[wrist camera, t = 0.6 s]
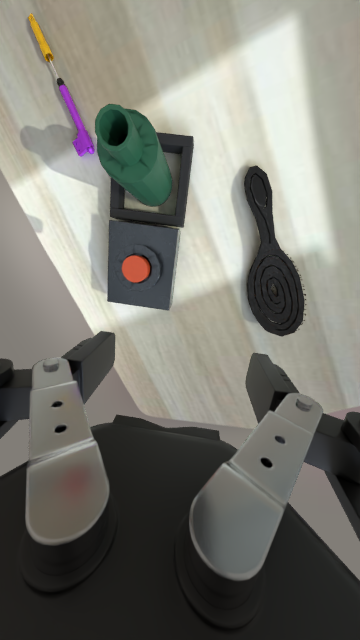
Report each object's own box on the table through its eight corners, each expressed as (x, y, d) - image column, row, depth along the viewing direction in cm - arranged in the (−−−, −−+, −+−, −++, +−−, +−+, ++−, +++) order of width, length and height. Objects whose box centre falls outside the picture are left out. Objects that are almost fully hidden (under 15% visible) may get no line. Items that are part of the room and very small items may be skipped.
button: (126, 253, 31) (122, 253, 29) (151, 257, 31) (148, 257, 29) (125, 279, 32) (121, 280, 30) (149, 282, 32) (146, 284, 30)
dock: (118, 136, 31) (111, 126, 28) (193, 145, 30) (193, 136, 28) (116, 218, 34) (109, 216, 32) (183, 227, 34) (182, 225, 31)
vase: (134, 158, 32) (77, 76, 17) (174, 163, 31) (153, 84, 17) (131, 203, 33) (78, 166, 19) (170, 208, 33) (146, 174, 18)
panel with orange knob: (118, 223, 34) (103, 218, 29) (180, 231, 34) (177, 227, 29) (115, 296, 38) (102, 304, 33) (171, 305, 38) (167, 313, 32)
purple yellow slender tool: (97, 151, 31) (37, 16, 27) (92, 149, 30) (28, 7, 26) (85, 162, 32) (25, 33, 29) (79, 160, 31) (16, 26, 27)
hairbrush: (289, 147, 27) (317, 331, 33) (279, 160, 31) (306, 324, 36) (224, 171, 29) (261, 343, 34) (222, 181, 32) (255, 335, 38)
